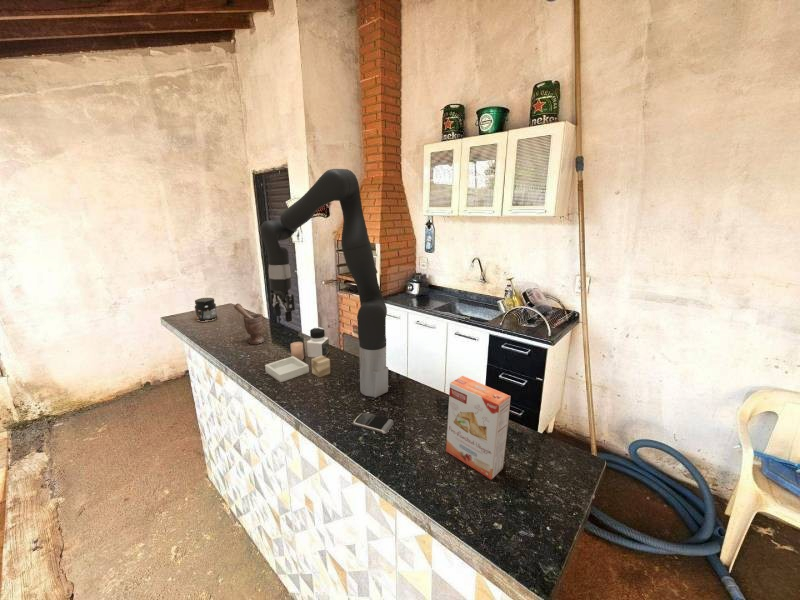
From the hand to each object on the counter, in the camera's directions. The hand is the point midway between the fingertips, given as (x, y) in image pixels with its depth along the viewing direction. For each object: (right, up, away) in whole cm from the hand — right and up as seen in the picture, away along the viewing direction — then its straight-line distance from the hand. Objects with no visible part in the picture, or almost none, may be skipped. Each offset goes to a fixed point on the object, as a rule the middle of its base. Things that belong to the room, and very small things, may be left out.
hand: (283, 318), depth 130 cm
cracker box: (+63, -35, -41) cm, 83 cm away
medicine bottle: (+8, -17, +22) cm, 29 cm away
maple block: (+13, -22, +5) cm, 26 cm away
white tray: (0, -21, +6) cm, 22 cm away
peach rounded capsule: (0, -18, +17) cm, 25 cm away
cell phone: (+36, -31, -26) cm, 54 cm away
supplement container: (-66, -5, +67) cm, 94 cm away
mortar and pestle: (-26, -14, +34) cm, 45 cm away
